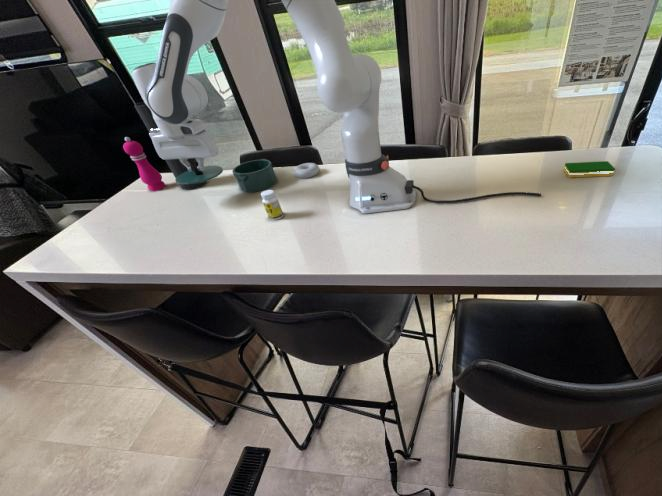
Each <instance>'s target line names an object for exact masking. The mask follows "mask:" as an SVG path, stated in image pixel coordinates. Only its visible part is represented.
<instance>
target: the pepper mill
mask: <svg viewBox="0 0 662 496" xmlns="http://www.w3.org/2000/svg"><path fill="white" fill-rule="evenodd" d="M124 141H125V142H124V143H123V145H122V148H123V150H124V152H125V153H126V155H129V158H130V159H131V161H133V162H134V164H136V166H137V169H138V173H139V177H140V180H141V182H142V183H143V184H145V185H147V189H148V190H149V191H150V192H157V191H160V190H163V189H165V188H166V187H167V185H166V183H165V181H163V180H162V179H163V176H162V174H161V173H160V172H159V171H158V170H157V169H156V168H155V167H153V165H152V164H151V163H150V162H149V161H148V159H147V155H146V154H145V152H144V147H143V146H142V144H141V143H140V142H138V141H135V140H131V138H130V137H129V136H125V137H124Z"/></svg>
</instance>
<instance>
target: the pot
mask: <svg viewBox="0 0 662 496" xmlns="http://www.w3.org/2000/svg"><path fill="white" fill-rule="evenodd" d="M231 172H232V174H233V176H234V179H235V180H236V183H237V186H238V188H239V189H240V191H242V192H245V193H256V192H263V191H266V190H269V188H272V187H274V186H275V185H276V184H277V182H278V178H277V175H276V172H275V169H274V167H273V164H272V162H271V161H270V160H269V159H267V158H260V159H255V160H248V161H245V162H242V163H240V164H237V165H235V166H234V168H232V171H231Z"/></svg>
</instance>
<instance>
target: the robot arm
mask: <svg viewBox="0 0 662 496" xmlns="http://www.w3.org/2000/svg"><path fill="white" fill-rule="evenodd" d="M280 1H281V3H282V5H283V7H284V8H285V10H286V11H287V13H288V14H289V16H290V18H291V20H292V22H293V24H294V26H295V28H296V29H297V31H298V33H299V34H300V36H301V38H302V40H303V41H304V44H305V46H306V49H307V50H308V52H309V55H310V58H311V61H312V64H313V67H314V69H315V73H316V78H317V82H316V85H317V86H316V89H317V94H318V96H319V99H320V101H321V103H322V104H323V105H324V106H325V108H326V109H328V110H329V111H331V112H333V113H337V114H338V113H340V114H342V123H341V129H340V136H341V140H342V145H343V146H342V147H343V151H344V155H345V156H344V157H345V159H344V163H345V164H344V165H345V171H346V174H347V178H348V181H349V205H350V206H351V207H352V208H353V209H356V210H358V211H360V212H361V213H362V214H373V213H381V212H390V211H398V210H399V211H400V210H408V209H410V208H411V207H413V205H414V204H415V203H416V199H417V193H416V190H417V191H419V192H420V195H421V198H422V199H423V200H424V201H426V202H430V203H434V204H457V203H463V202H469V201H471V202H472V201H476V200H477V201H478V200H482V199H486V198H487V199H488V198H494V197H501V196H517V195H518V196H535V197H541V196H542V193H540V194H539V192H528V191H527V193H526V191H508V192H507V191H506V192H500V193H491V194H485V195H478V196H474V197H473V196H472V197H466V198H461V199H449V200H448V199H447V200H446V199H445V200H444V199H442V200H433V199H429V198H427V197H425V194H424V193H425V192H424V191H423V189H422V188H420V187H418V186H416V185H415V183H414V179H407V177H406V176H405V175H404V174H402V173H401V172H399V171H397V170H396V169H394V168H393V167H391V166H390V161H389V154H387V155H384V154H383V153H382V149H381V139H380V131H379V130H380V129H379V116H380V115H379V111H380V89H381V88H380V87H381V84H382V71H381V67H380V65H379V63H378V62H377V60H375V58H373V57H372V56H370V55H367V54H365V53H352V51H351V48H350V45H349V42H348V38H347V34H346V29H345V20H344V19H345V18H344V16H343V15H342V12H341V10H340V8H339V7H338V5H337V2H336V1H335V0H280ZM228 3H229V0H170V5H169V8H168V13H167V16H166V19H165V22H164V25H163V29H162V33H161V37H160V42H159V46H158V52H157V57H156V62H148V63H145V64H140V65H138V66H136V67H134V68H133V70H132V71H131V74H132V79H133V82H134V85H135V87H136V89H137V91H138V93H139V95H140V96H141V99H142V100H143V102H145V104H146V105H147V106H148V107H149V109H150V110H151V112H152V115H153V118H154V120H155V122H156V124H157V126H158V128H157V129H155V128H153V129H151V130H150V132H149V131H148V135H149V137H150V139H151V141H152V144H153V147H154V149H155V152H156V153H157V155H158V157H159V158H161V159H162V160H167V159H179V160H180V162H181V163H182V164H183V165H185V166H186V167H187V169H188V171H189V172H193V169H192V167H191V165H190V163H189V162H188V161H187V160H188V158H195V159H196V161H198V166H197V168H198V170H199V171H204V170H205V167H204V166H205V165H204V164H205V163H204V161H205V158H206V159H207V158H215V157H216V156H217V155H218V154H219V148H218V146H217V143H216V142H215V140H214V138H213V136H212V134H211V133H210V132H209V131H207V130H206V129H207V125H206V123H205V122H204V121H203V120H199V119H194V118H192V116H194V115H196V114H199V113H200V112H202V111H203V110H205V109H206V108H207V107H208V105H209V102H210V100H209V94H208V91H207V89H206V87H205V86H204V84H203V83H202V82H201V81H200V80H199V79H198V78H197V77H195V76H193V75H191V74H188V70H189V65H190V63H191V60H192V57H193V56H194V54H195V53H196V52H198V50H199V49H201V48H202V47H203V46H204V45H206V44H207V43H209V42H210V41H212V40H213V39H216V37H218V36H219V34H220V31H221V30H222V27H223V25H224V22H225V18H226V13H227V9H228Z"/></svg>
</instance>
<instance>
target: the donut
mask: <svg viewBox="0 0 662 496" xmlns="http://www.w3.org/2000/svg"><path fill="white" fill-rule="evenodd" d="M293 171H294V174H295V176H296V177H297V178H300V179H308V178H312V177H315V176H317V175H318V174H319V172H320V167H319V165H318V164H317V163H315V162H305V163H301V164H299V165H296V167H295V168H294V170H293Z"/></svg>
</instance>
